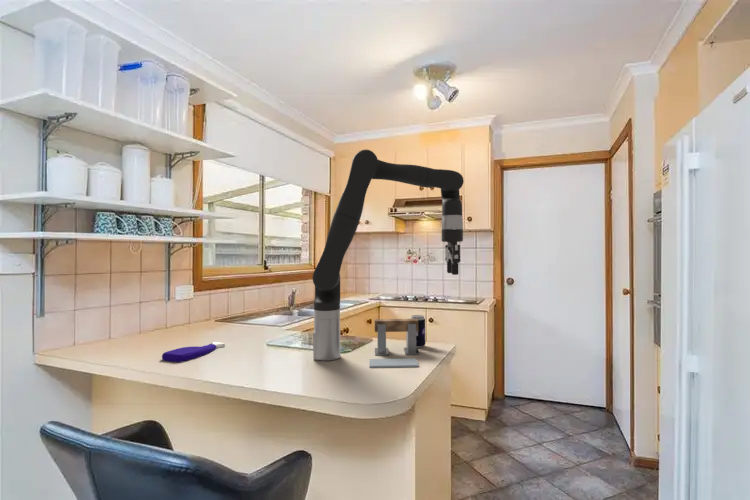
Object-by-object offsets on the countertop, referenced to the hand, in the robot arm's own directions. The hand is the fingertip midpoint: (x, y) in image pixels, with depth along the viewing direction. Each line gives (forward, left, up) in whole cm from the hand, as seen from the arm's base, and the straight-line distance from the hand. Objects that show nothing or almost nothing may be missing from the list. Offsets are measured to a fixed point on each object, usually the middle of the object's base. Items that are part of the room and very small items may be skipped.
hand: (452, 273), depth 144 cm
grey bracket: (-14, +6, -29) cm, 33 cm away
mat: (-22, -9, -29) cm, 38 cm away
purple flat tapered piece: (-95, +9, -30) cm, 100 cm away
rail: (-20, +6, -21) cm, 30 cm away
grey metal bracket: (-25, +6, -29) cm, 39 cm away
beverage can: (-11, +14, -30) cm, 34 cm away
